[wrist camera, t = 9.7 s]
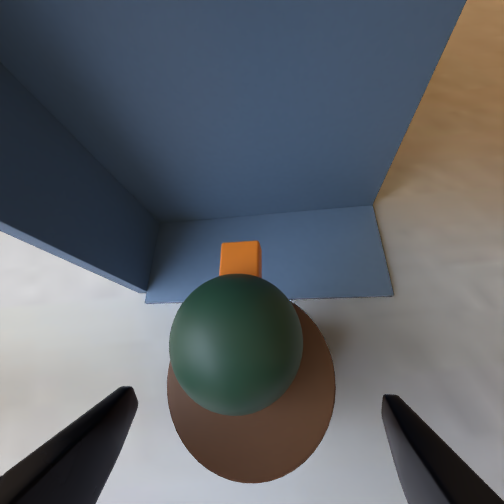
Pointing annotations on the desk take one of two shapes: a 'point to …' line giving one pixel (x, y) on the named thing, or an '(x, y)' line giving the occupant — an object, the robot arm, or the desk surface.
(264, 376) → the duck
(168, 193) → the cubby
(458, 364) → the desk surface
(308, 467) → the desk surface
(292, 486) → the desk surface
